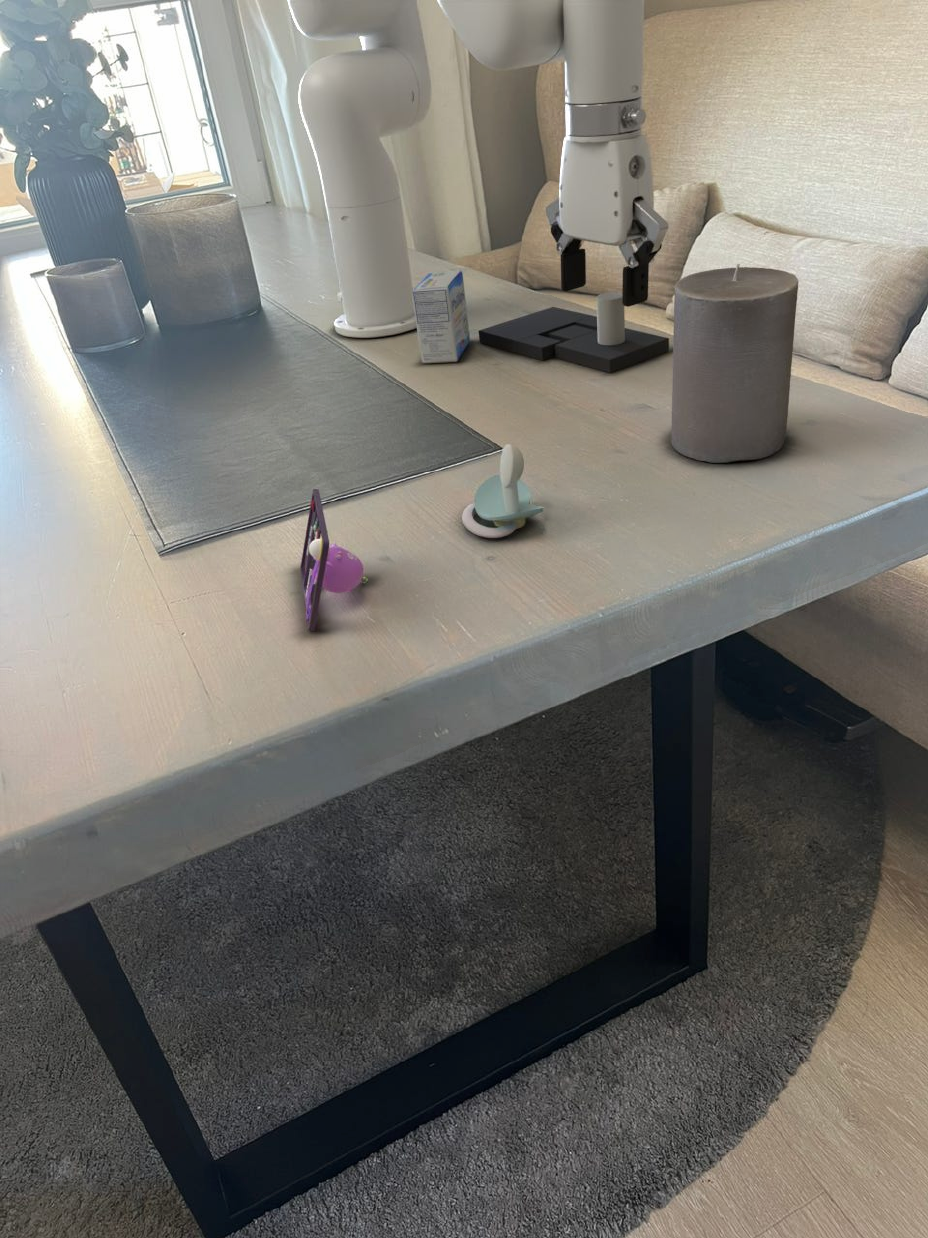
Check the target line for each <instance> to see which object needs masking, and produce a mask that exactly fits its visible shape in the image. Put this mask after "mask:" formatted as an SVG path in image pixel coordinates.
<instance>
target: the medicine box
mask: <svg viewBox="0 0 928 1238" xmlns="http://www.w3.org/2000/svg"><path fill="white" fill-rule="evenodd" d="M464 282H465V281H464V273H463V271H462V270H444V271H436V272H431V273H427V275H426V276H425V277H424V278H423V279H422V280H421V281H420V282H419V283H418V284H417V285H416V286H415V287H414V289H413V291H412V298H413V306H414V312H415V319H416V325H417V328H416V332H417V338H418V346H419V352H420V358H421V363H423V364H443V363H458V361H459V359H460V358H461V356H462V354H463V352H464V351H465V349H466V348H467V346H468V345H469V343H470V342H471V336H470V328H469V326H470V325H469V318H468V311H467V310H468V309H467V301H466V291H465V283H464Z"/></svg>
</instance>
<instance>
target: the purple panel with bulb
mask: <svg viewBox="0 0 928 1238" xmlns="http://www.w3.org/2000/svg"><path fill="white" fill-rule="evenodd" d="M306 524H307V525H306V530H305V535H304V536H305V537H304V541H303V548H302V549H303V550H302V555H301V562H300V567H299V569H300V570H299V572H300V580H301V587H302V594H303V602H304V608H305V609H304V610H305V616H306V617H305V621H306V624H307V631H312V632H314V631H315V629H316V622H317V618H318V617H317V616H318V611H319V607H320V606H319V605H320V600H321V595H322V589H324V590H326V591H328V592H331V593H333V594H344V593H348V592H350V591H351V592H352V590H354V589H355V588H357V586H359V584H361V583H363V584H366V582H368V581H369V579H368V578H367V576H365V575H364V566H363V563H362V561H361V559H360V558H359V557H358V556H356V555H355V554H354V553H352V552H351V551H349V550H347V549H345V548H344V547H342V546H338V544H336V542H333V543H332V544H331V545H330V539H329V534H328V529H327V524H326V519H325V513H324V509H323V504H322V497H321V493H320V489H319V488H313V489H312V493H311V500H310V506H309V513H308V518H307V523H306ZM314 585H315V587H314ZM313 587H314V594H313V600H311V594H312V591H313Z"/></svg>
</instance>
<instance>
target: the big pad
mask: <svg viewBox="0 0 928 1238" xmlns="http://www.w3.org/2000/svg"><path fill="white" fill-rule="evenodd" d="M573 325H576V326H580V327H584V328H588V329H592V330H596V331H597V315H591V314H587V313H583V312H579V311H578V312H577V311H574V310H569V309H565V308H560V307H556V306H551V307H548V308H545V309H542V310H538V311H535V312H532V313H529V314H526V315H523V316H519V317H517V318H514V319H510V320H507V321H504V322H501V323H497V324H494V325H491V326H488V327H485V328H481V329H478V339H479V343H480V344H483V345H488V346H491V347H493V348H498V349H501V350H504V351H508V352H512V353H514V354H518V355H521V356H526V357H529V358H532V359H535V360H539V361H546V360H548V359H552V358H554V357H555V345H556V344H559V343H562V341H559V340H555V339H551V338H549V333H552V332H555V331H558V330H561V329H564V328H567V327H570V326H573ZM555 358H556V357H555Z"/></svg>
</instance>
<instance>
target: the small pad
mask: <svg viewBox="0 0 928 1238" xmlns="http://www.w3.org/2000/svg"><path fill="white" fill-rule="evenodd" d="M595 298H596V317H597V331H596V330H592V329H588V328H584V327H580V326H576V325H573V326H570V327H567V328H564V329H561V330H558V331H555V332H552V333H549V338H551V339H555V340H559V341H562V343H559V344H556V345H555V358H556V359H559V360H563V361H566V362H570V363H573V364H577V365H580V366H584V367H588V368H590V369H594V370H598V371H601V372H605V373H608V374H612V373H614V372H617V371H619V370H623V369H625V368H628V367H630V366H633V365H636V364H638V363H641V362H643V361H647V360H649V359H651V358H654V357H657V356H660V355H663V354H665V353H668V352H669V351H670V338H669V337H665V336H662V335H657V334H652V333H648V332H644V331H641V330H640V331H639V330H635V329H630V328H626V326H625V324H626V323H625V322H626V321H625V306H624V305H623V303H622V292H617V291H610V292H604V293H600V294H598V295H597V296H596V297H595Z"/></svg>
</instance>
